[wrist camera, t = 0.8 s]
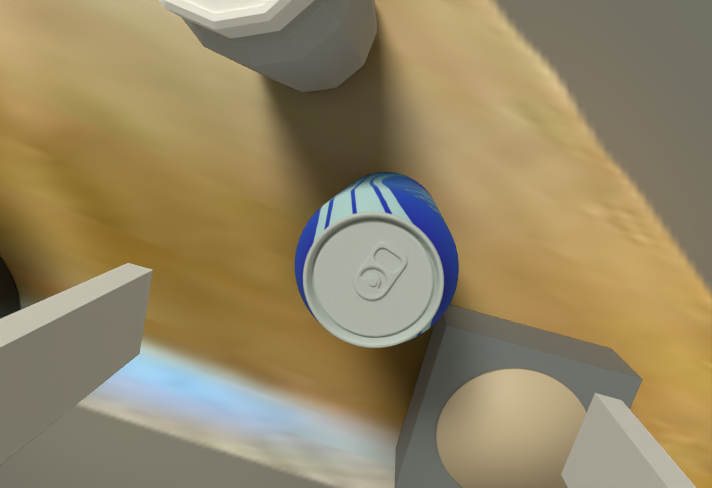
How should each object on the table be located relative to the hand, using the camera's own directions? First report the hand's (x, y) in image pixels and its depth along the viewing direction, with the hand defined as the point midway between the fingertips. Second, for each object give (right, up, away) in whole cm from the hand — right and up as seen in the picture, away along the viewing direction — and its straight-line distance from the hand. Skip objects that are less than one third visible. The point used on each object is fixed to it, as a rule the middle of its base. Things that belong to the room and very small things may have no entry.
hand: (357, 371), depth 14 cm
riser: (+12, -9, +26) cm, 30 cm away
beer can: (+2, +5, +24) cm, 25 cm away
